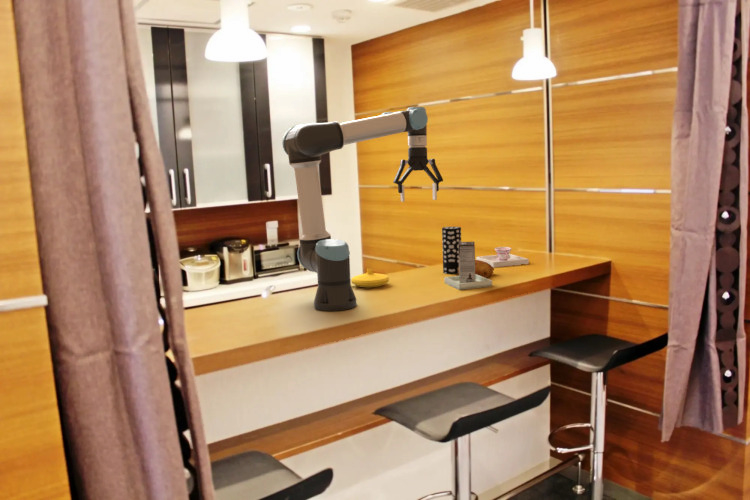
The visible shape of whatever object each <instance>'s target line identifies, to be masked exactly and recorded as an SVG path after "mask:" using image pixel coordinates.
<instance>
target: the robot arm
mask: <svg viewBox="0 0 750 500" xmlns="http://www.w3.org/2000/svg"><path fill="white" fill-rule="evenodd" d="M428 121H429V119H428V114H427V109H426V108H425V107H424V106H410V107H408V108H407V109H406V110H401V111H393V112H392V111H388V112H383V113H381V114H380V115H377V116H370V117H366V118H361V119H355V120H351V121H350V120H349V121H345V122H341V123H340V122H339V121H330V122H309V123H305V124H297V125H294V126H292V127H290V128H289V129H287V130H286V132H285V133H284V134H283V137H282V143H281V144H282V149H283V151H284V152H285V154H286V155H287V157H288V163H289V166H291V167H292V168H293V170H294V177H295V183H296V191H297V199H298V206H299V207H298V208H299V213H300V214H299V215H300V222H301V229H302V234H301V235H300V237H299V247H298V249H297V252H296V255H297V260H298V262H299V264H300V265H301V266H302V268H305V269H306V270H307V271H309V272H312V273H316V274H317V288H316V293H315V296H314V300H313V306H314V309H315V310H318V311H322V312H323V311H324V312H339V311H345V310H350V309H353V308H355V307H356V306H357V297H356V295H355V292H354V289H353V286H352V281H351V262H350V261H351V259H350V255H351V254H350V248H349V244H348V242H346V241H344V240H341V239H335V238H334V239H333V238H332V237H331V233H330V232H328V231H327V230H326V220H325V214H324V207H323V198H322V197H323V196H322V189H321V180H320V173H319V165H320V164H321V162H322V156H323V155H325V154H327V153H328V154H329V153H331V152H333V151H337V150H342V149H343V148H344V146H347V145H350V144H351V145H352V144H356V143H360V142H365V141H369V140H374V139H379V138H382V137H388V136H392V135H397V134H402V133H407V146H408V148H407V153H408V154H407V155H408V156H407V157H408V158H407V160H406V159H401V160H400V164H399V168H398V170H397V173H396V175H395V177H394V179H393V181H392V183H393V184H396V185H397V191H398V193H399V194H400V202H405V184H404V182H405V181H406V180H407V178H408V177H409V176H410V174H411V173H412V172H413V171H414V172H417V171H423V172H425V173H426V174H427V176H428V177H429V178H430V180H432V182H433V183H431V185H432V201H433V200H434V201H437V200H438V196H437V195H438V194H437V192H439V190H440V189H439V188H440V187H439V184H440V183H441V182H443V181H444V178H443V176H442V175H441V172H440V170H439V168H438V166H437V164H436V159H435V158H431V159H428V147H426V146H428V142H427V141H428V137H427V135H428V133H427V127H428V126H427V124H428ZM428 164H429V165H430V167H431V168H432V170H433V172H434V173H433V172H432V171H431V170H430V168H429V167H428ZM407 165H408V168H407V169H406V171H405V172H404V169H405V167H406V166H407ZM403 172H404V174H403ZM402 174H403V175H402ZM401 176H402V177H401Z"/></svg>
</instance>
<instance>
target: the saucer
mask: <svg viewBox="0 0 750 500" xmlns="http://www.w3.org/2000/svg"><path fill="white" fill-rule="evenodd" d="M497 257H498V255H497V254H495V255H493V254H491V255H482V256H475V260H480V261H483V262H487V263H488V264H490V265H491V266H492V267H493V268H501V267H513V265H514V266H521V264H525V265H529V263H530V262H529V261H530V259H529V258H526V257H524V256H520V255H515V254H512V253H509V258H513V259H516V260H508V261H498V262H493V261H491V259H495V258H497Z"/></svg>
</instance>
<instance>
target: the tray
mask: <svg viewBox="0 0 750 500" xmlns="http://www.w3.org/2000/svg"><path fill="white" fill-rule="evenodd" d="M444 284H446V285H448V286H450V287H452V288H454V289H456V290H458V291H463V290H464V291H465V290H472V289H482V287H483V288H491V287H490V286H492V287H493V280H492V279H490V278H488V277H486V278H485V277H482V276H479V275H477V274H475V282H469V283H460V280H459V275H454V276H445V277H444Z"/></svg>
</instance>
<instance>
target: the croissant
mask: <svg viewBox="0 0 750 500" xmlns="http://www.w3.org/2000/svg"><path fill="white" fill-rule="evenodd" d="M494 270H495V267H492V266H491V265H490V264H488V263H487V262H483V261H480V260H476V259H475V274H477V275H479V276H482V277H485V278H489V277H492V276H493V275H494ZM458 273H459V267H458Z"/></svg>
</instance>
